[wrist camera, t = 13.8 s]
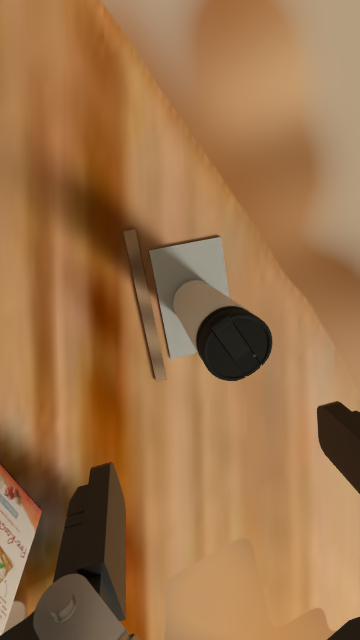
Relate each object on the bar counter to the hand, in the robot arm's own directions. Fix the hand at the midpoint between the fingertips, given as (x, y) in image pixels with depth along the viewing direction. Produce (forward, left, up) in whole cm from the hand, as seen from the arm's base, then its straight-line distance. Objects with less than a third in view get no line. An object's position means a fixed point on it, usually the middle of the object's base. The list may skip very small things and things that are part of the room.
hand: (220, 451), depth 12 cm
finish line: (+2, -2, -34) cm, 34 cm away
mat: (+2, +5, -34) cm, 34 cm away
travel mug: (+2, +5, -33) cm, 34 cm away
